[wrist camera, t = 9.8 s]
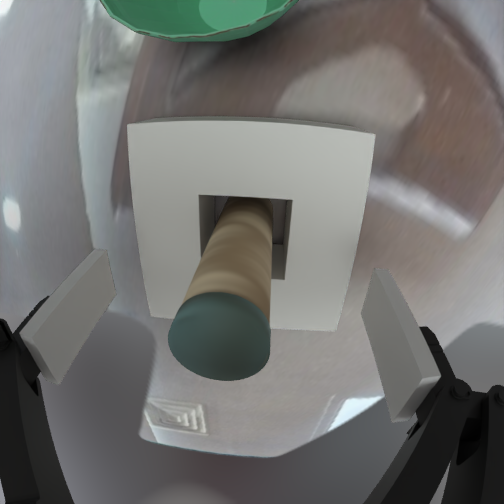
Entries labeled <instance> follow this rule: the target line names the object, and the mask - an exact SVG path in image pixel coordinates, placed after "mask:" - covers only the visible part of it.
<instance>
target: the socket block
mask: <svg viewBox="0 0 504 504" xmlns="http://www.w3.org/2000/svg"><path fill="white" fill-rule="evenodd" d="M127 133H128V153H129V168H130V180H131V191H132V201H133V210H134V219H135V227H136V235H137V242H138V249H139V255H140V262H141V268H142V274H143V279H144V285H145V290H146V296H147V301H148V306H149V311H150V316H151V317H158V318H166V319H174V318H175V316H176V313H177V311H178V309H179V308H180V306H181V305H182V302H183V300H184V298H185V295H186V293H187V290H188V288H189V286H190V283H191V281H192V279H193V276H194V274H195V272H196V269H197V267H198V265H199V262H200V260H201V258H202V256H203V253H204V251H205V249H206V246H207V244H208V242H209V240H210V237H211V235H212V233H213V231H214V229H215V208H214V195H220V196H241V197H258V198H274V199H287V207H286V218H285V229H284V240H283V245H279V244H272V268H271V299H270V328H272V329H289V330H312V331H336V329H337V326H338V322H339V319H340V315H341V311H342V308H343V304H344V300H345V296H346V292H347V288H348V284H349V280H350V276H351V272H352V267H353V263H354V258H355V254H356V249H357V245H358V240H359V235H360V230H361V225H362V220H363V214H364V209H365V203H366V197H367V191H368V185H369V179H370V172H371V165H372V158H373V151H374V143H375V134H373V133H370V132H368V131H365V130H362V129H359V128H357V127H354V126H347V125H340V124H333V123H324V122H316V121H306V120H295V119H282V118H266V117H243V116H186V117H163V118H154V119H149V120H144V121H140V122H135V123H131V124H127Z"/></svg>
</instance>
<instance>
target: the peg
mask: <svg viewBox="0 0 504 504" xmlns="http://www.w3.org/2000/svg"><path fill="white" fill-rule="evenodd" d="M272 231H273V207H272V203H271V201H270V199H269V198H258V197H241V196H230V197H229V198H228V200H227V202H226V204H225V207H224V209H223V211H222V213H221V215H220V218H219V220H218V222H217V224H216V226H215V229H214V231H213V233H212V235H211V237H210V240H209V242H208V244H207V246H206V249H205V251H204V253H203V256H202V258H201V260H200V262H199V265H198V267H197V269H196V272H195V274H194V276H193V279H192V281H191V283H190V286H189V288H188V290H187V293H186V295H185V298H184V300H183V302H182V305H181V306H180V308H179V309H178V311H177V313H176V316H175V318H174V321H173V323H172V325H171V328H170V330H169V334H168V343H169V347H170V350H171V352H172V354H173V355H174V357H175V358H176V359H177V360H178V361H179V362H180V363H181V364H182V365H183V366H184V367H186V368H187V369H189V370H190V371H192V372H194V373H196V374H198V375H200V376H203V377H206V378H209V379H214V380H221V381H233V380H240V379H244V378H248V377H250V376H252V375H254V374H256V373H258V372H259V371H260V370H261V369H262V368H263V367H264V366H265V365H266V363H267V361H268V359H269V355H270V334H271V330H270V299H271V268H272Z"/></svg>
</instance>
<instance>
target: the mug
mask: <svg viewBox="0 0 504 504" xmlns="http://www.w3.org/2000/svg"><path fill="white" fill-rule="evenodd" d="M298 1H299V0H100V2H101V3H102V5H103V6H104V8H105V9H106V11H107V12H108V14H109V15H110V17H112V18H113V19H115V20H117V21H118V22H120V23H121V24H123V25H125V26H126V27H128V28H130V29H131V30H133V31H134V32H137V33H139V34H143V35H148V36H152V37H157V38H161V39H165V40H169V41H173V42H195V41H230V40H234V39H238V38H243V37H248V36H250V35H252V34H254V33H256V32H258V31H260V30H262V29H264V28H266V27H268V26H270V25H271V24H272V23H273V22H274V21H276V20H277V19H279V18H280V17H282V16H283V15H284V14H285V13H286V12H287V11H288V10H289V9H290V8H291V7H292V6H293V5H294V4H295V3H297V2H298Z"/></svg>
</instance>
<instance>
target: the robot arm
mask: <svg viewBox="0 0 504 504" xmlns="http://www.w3.org/2000/svg"><path fill="white" fill-rule="evenodd" d="M115 296H116V290H115V286H114V282H113V277H112V273H111V268H110V264H109V259H108V254H107V250H103V249H94V250H93V251H92V252H91V253H90V254H89V255H88V256H87V257H86V258H85V259H84V260H83V261H82V262H81V263H80V264H79V265H78V266H77V267H76V268H75V270H74V271H73V272H72V273H71V274H70V275H69V276H68V277H67V278H66V279H65V280H64V281H63V282H62V283H61V285H60V286H59V287H58V288H57V289H56V290H55V291H54V292H53V293H52V295H51V296H47V297H46V298H44V299H43V300H41V301H40V302H39V303H38V304H37V305H36V307H35V308H34V310H32V311H31V312H30V314H29V316H27V317H26V318H25V319H24V321H23V322H22V323H21V324H20V326H19V327H18V328H17V329H16V330H15V332H14V333H13V334H12V332H11V330H10V328H9V326H8V324H7V322H6V321H5V320H4V319H0V479H1V484H2V488H3V492H4V496H5V501H6V502H5V504H74V502H73V499H72V497H71V494H70V492H69V489H68V486H67V484H66V481H65V478H64V475H63V472H62V469H61V466H60V463H59V460H58V457H57V454H56V450H55V447H54V443H53V440H52V436H51V432H50V428H49V424H48V420H47V416H46V411H45V406H44V401H43V396H42V390H41V385H40V381H39V378H38V377H37V376H38V375H39V373H40V372H41V373H42V375H43V376H44V378H45V379H46V381H49V382H51V383H54V384H57V385H60V383H61V381H62V379H63V378H64V376H65V374H66V372H67V371H68V369H69V367H70V366H71V364H72V362H73V361H74V359H75V357H76V355H77V354H78V352H79V351H80V349H81V348H82V346H83V344H84V343H85V341H86V340H87V338H88V336H89V335H90V333H91V332H92V330H93V329H94V327H95V325H96V324H97V322H98V321H99V319H100V318H101V316H102V315H103V313H104V312H105V310H106V309H107V307H108V306H109V304H110V303H111V301H112V300H113V299H114V297H115ZM361 315H362V318H363V321H364V325H365V328H366V331H367V334H368V337H369V340H370V344H371V347H372V350H373V354H374V357H375V361H376V364H377V368H378V371H379V375H380V378H381V382H382V386H383V390H384V393H385V397H386V401H387V404H388V409H389V413H390V417H391V421H392V422H400V421H407V420H409V419H410V418H411V417H412V416H413V414H414V413H415V412H416V415H417V418H418V420H417V422H416V423H415V424H414V425H413V426H412V427H411V429H410V430H409V431H408V432H407V434H408V437H407V438H406V440H405V442H404V444H403V445H402V447H401V449H400V450H399V452H398V454H397V455H396V457H395V458H394V460H393V462H392V463H391V465H390V467H389V468H388V469H387V471H386V472H385V474H384V475H383V477H382V479H381V480H380V481H379V483H378V484H377V486H376V487H375V488H374V490H373V491H372V492H371V494H370V495H369V497H368V498H367V499H366V501H365V502H364V503H363V504H429V503H430V501H431V500H432V498H433V496H434V494H435V492H436V490H437V488H438V486H439V484H440V482H441V480H442V478H443V476H444V474H445V472H446V469H447V467H448V465H449V463H450V467H449V472H448V477H447V482H446V486H445V490H444V495H443V498H442V502H441V504H504V387H503V386H501V385H495V386H492V387H491V389H490V390H489V391H488V392H487V393H482V392H475V391H472V390H471V388H470V386H469V385H468V384H467V383H466V382H464V381H463V380H460V379H456V377H455V375H454V373H453V371H452V368H451V366H450V364H449V362H448V360H447V358H446V356H445V354H444V353H443V350H442V348H441V345H439V344H440V343H439V342H438V340H437V338H436V336H435V334H434V333H433V332H432V331H431V330H430V329H429V328H428V327H419V326H418V324H417V322H416V320H415V318H414V316H413V314H412V312H411V310H410V308H409V306H408V304H407V302H406V301H405V299H404V297H403V295H402V293H401V291H400V289H399V287H398V286H397V284H396V282H395V280H394V278H393V277H392V275H391V273H390V271H389V269H378V268H374V270H373V274H372V278H371V281H370V285H369V288H368V292H367V295H366V299H365V302H364V305H363V308H362V312H361ZM450 460H451V462H450Z"/></svg>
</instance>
